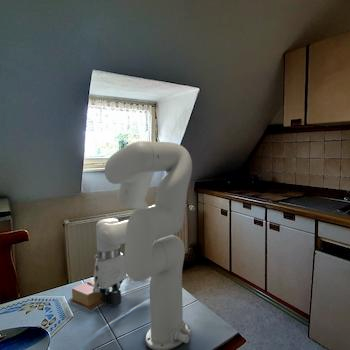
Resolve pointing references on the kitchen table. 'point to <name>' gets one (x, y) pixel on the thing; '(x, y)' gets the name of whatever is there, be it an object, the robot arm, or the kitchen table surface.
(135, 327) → the kitchen table surface
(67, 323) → the kitchen table surface
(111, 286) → the block
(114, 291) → the dark block with blade
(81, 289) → the cake slice
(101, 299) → the cake board
